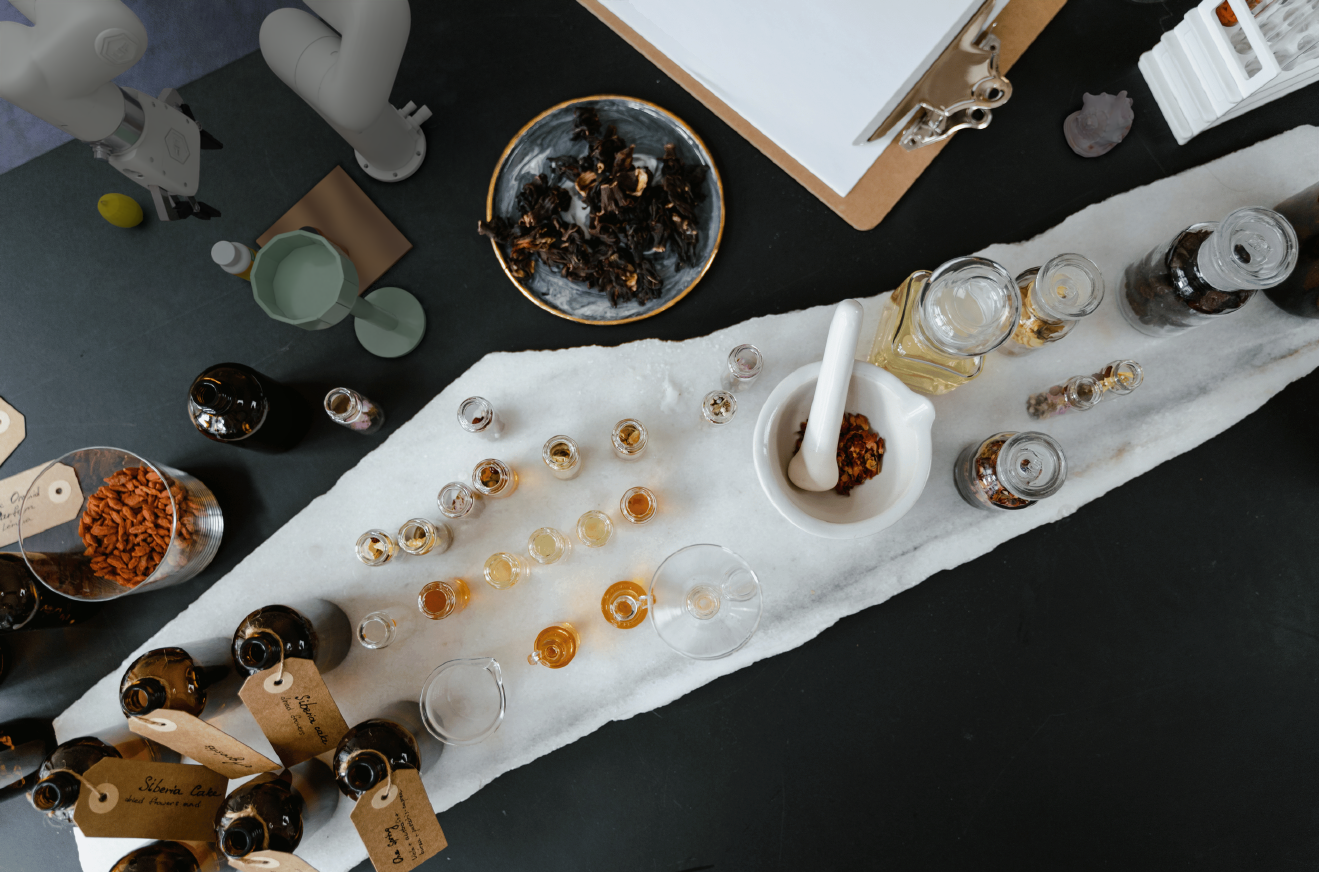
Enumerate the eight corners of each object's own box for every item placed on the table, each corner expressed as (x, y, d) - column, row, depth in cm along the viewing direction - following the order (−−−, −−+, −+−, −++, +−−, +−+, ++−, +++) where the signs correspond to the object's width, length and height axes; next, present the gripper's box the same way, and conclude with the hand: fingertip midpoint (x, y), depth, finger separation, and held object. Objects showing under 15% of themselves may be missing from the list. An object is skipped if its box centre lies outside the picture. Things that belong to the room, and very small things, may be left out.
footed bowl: (394, 274, 117) (300, 211, 88) (440, 324, 117) (361, 279, 88) (342, 321, 117) (232, 274, 88) (388, 372, 117) (292, 342, 88)
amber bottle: (337, 237, 117) (308, 218, 108) (354, 256, 117) (327, 239, 108) (317, 255, 117) (286, 237, 108) (334, 275, 117) (305, 259, 108)
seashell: (1050, 116, 115) (1083, 85, 106) (1112, 84, 115) (1150, 51, 105) (1078, 167, 114) (1114, 140, 105) (1141, 135, 114) (1182, 106, 105)
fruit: (131, 199, 119) (92, 180, 111) (159, 209, 119) (121, 191, 111) (119, 227, 119) (79, 210, 111) (147, 238, 119) (109, 222, 111)
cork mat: (340, 166, 118) (338, 164, 118) (413, 246, 117) (412, 245, 117) (257, 241, 118) (255, 240, 118) (330, 323, 117) (328, 322, 117)
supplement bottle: (238, 267, 118) (199, 250, 109) (262, 248, 118) (225, 229, 109) (257, 290, 118) (219, 275, 108) (280, 271, 118) (245, 254, 108)
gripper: (136, 191, 75) (237, 241, 93) (141, 43, 76) (240, 120, 93) (72, 192, 76) (184, 242, 93) (77, 44, 76) (188, 121, 93)
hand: (212, 181), depth 93 cm, fingers open, 9 cm apart
